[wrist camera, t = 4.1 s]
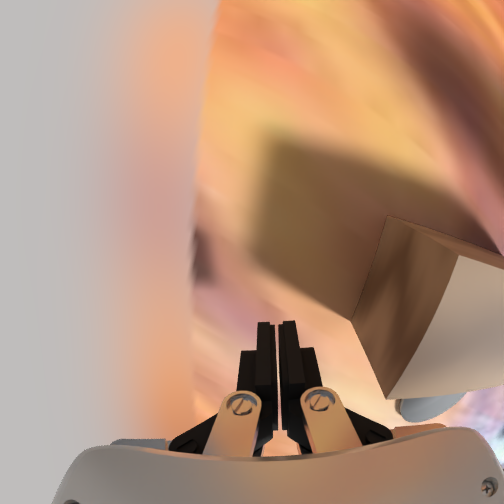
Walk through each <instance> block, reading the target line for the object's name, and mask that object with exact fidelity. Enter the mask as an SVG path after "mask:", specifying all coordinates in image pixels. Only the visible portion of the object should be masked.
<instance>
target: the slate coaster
mask: <svg viewBox="0 0 504 504" xmlns="http://www.w3.org/2000/svg"><path fill="white" fill-rule="evenodd" d="M466 393H467V392H464V393H457V394H450V395H442V396H433V397H422V398H408V399H401V401H400V405H399V409H400V413H401V415H402V417H403V418H404V419H405V420H406V421H408V422H422V421H426V420H429V419H432V418H434V417H436V416H438V415H440V414H442V413H443V412H445V411H447V410H448V409H449V408H451V407H452V406H453V405H455V404H456V403H457V402H458V401H459V400H460V399H461V398H462V397H463V396H464V395H465V394H466Z"/></svg>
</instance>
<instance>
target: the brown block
mask: <svg viewBox="0 0 504 504" xmlns="http://www.w3.org/2000/svg"><path fill="white" fill-rule="evenodd" d="M351 323H352V325H353V327H354V329H355V332H356V334H357V336H358V338H359V340H360V342H361V344H362V347H363V349H364V351H365V353H366V355H367V357H368V360H369V362H370V364H371V366H372V369H373V371H374V373H375V375H376V378H377V380H378V382H379V385H380V387H381V389H382V392H383V394H384V397H385V399H408V398H422V397H433V396H442V395H450V394H457V393H464V392H470V391H476V390H481V389H487V388H491V387H496V386H501V385H504V256H502V255H500V254H497V253H495V252H492V251H490V250H487V249H485V248H482V247H480V246H477V245H474V244H472V243H469V242H467V241H464V240H461V239H458V238H456V237H453V236H450V235H447V234H444V233H441V232H439V231H436V230H433V229H430V228H427V227H424V226H421V225H418V224H414V223H411V222H408V221H405V220H402V219H398V218H395V217H392V216H389V215H387V218H386V221H385V225H384V228H383V232H382V235H381V238H380V242H379V245H378V248H377V251H376V254H375V257H374V260H373V263H372V266H371V269H370V272H369V275H368V278H367V281H366V283H365V286H364V289H363V292H362V294H361V297H360V300H359V302H358V305H357V307H356V310H355V312H354V315H353V317H352V320H351Z"/></svg>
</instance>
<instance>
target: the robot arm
mask: <svg viewBox="0 0 504 504" xmlns="http://www.w3.org/2000/svg"><path fill="white" fill-rule="evenodd" d="M278 332H279V377H280V396H281V416H282V430H287V436H289V438H291V439H292V440H294V441H295V442H297V449H298V452H299V455H291V456H272V457H263V453H264V448H265V444H266V443H267V442H268V441H270V440H271V439H272V438H273V430H278V383H277V361H276V342H275V325H270V322H258V328H257V350H251V351H241V357H240V365H239V374H238V382H237V391H236V392H233V393H231V394H229V395H228V396H226V397H225V398H224V400H223V402H222V404H221V407H220V410H219V412H218V413H217V414H216V415H214V416H212V417H211V418H209V419H207V420H206V421H204V422H202V423H201V424H199V425H197V426H195V427H194V428H192V429H190V430H188V431H186V432H185V433H183V434H181V435H179V436H177V437H176V438H175V439H173V440H172V441H166V439H119V440H116V441H114V442H112V443H111V444H110V445H104V446H96V447H92V448H89V449H86V450H84V451H83V452H82V453H81V454H79V455H78V456H77V457H76V459H75V460H74V461H73V463H72V464H71V466H70V467H69V469H68V471H67V472H66V474H65V476H64V478H63V480H62V482H61V484H60V486H59V488H58V490H57V492H56V495H55V497H54V500H53V502H52V504H504V471H503V469H502V467H501V465H500V463H499V461H498V459H497V457H496V455H495V453H494V452H493V450H492V448H491V447H490V445H489V444H488V443H487V441H486V440H485V438H484V437H483V436H482V435H481V434H480V433H479V432H477V431H476V430H474V429H471V428H467V427H446V426H445V425H443V424H440V423H434V424H425V425H415V426H402V427H395V428H394V429H390V430H389V429H388V428H387V427H385V426H383V425H381V424H379V423H376V422H374V421H372V420H370V419H368V418H365V417H363V416H361V415H359V414H357V413H355V412H353V411H351V410H349V409H347V408H345V407H344V406H343V404H342V402H341V400H340V398H339V396H338V394H337V393H336V392H335V391H333V390H332V389H330V388H327V387H323V385H322V381H321V376H320V372H319V368H318V363H317V359H316V355H315V350H314V348H313V347H309V348H300V346H299V340H298V335H297V329H296V323H295V320H294V321H283V324H279V325H278Z"/></svg>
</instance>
